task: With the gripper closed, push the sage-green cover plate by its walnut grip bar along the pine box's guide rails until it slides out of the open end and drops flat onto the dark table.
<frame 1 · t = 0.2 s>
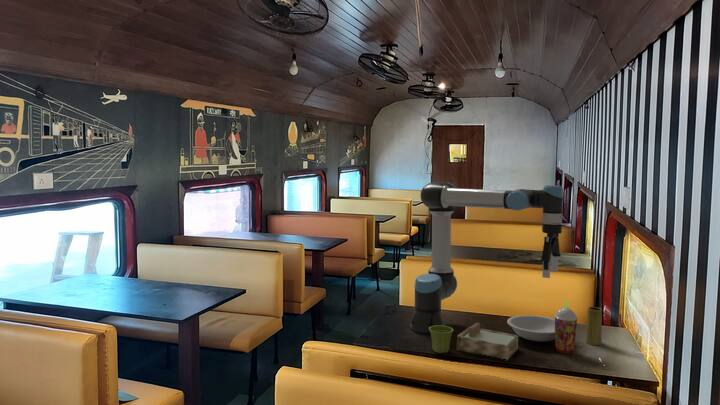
hand: (550, 274, 214), 28 cm above the table, fingers open, 13 cm apart
cover plate: (489, 339, 204), point 4 cm above the table, touching box
soup bowl: (536, 339, 218), on the table
vase: (593, 343, 214), on the table
smoothie: (564, 351, 204), on the table
plant pot: (440, 351, 204), on the table
box: (487, 349, 205), on the table
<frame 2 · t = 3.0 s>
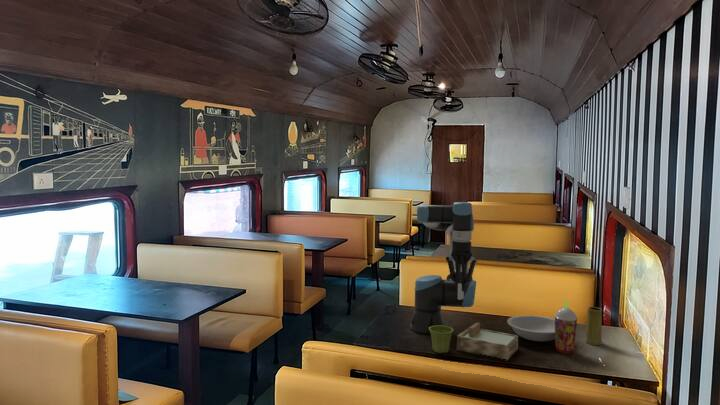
hand: (460, 298, 210), 19 cm above the table, fingers closed
nothing on the table moved.
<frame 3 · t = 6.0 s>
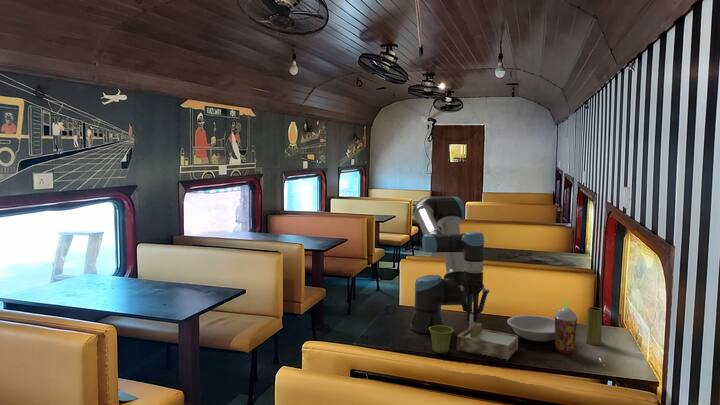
hand: (472, 329, 208), 7 cm above the table, fingers closed
nothing on the table moved.
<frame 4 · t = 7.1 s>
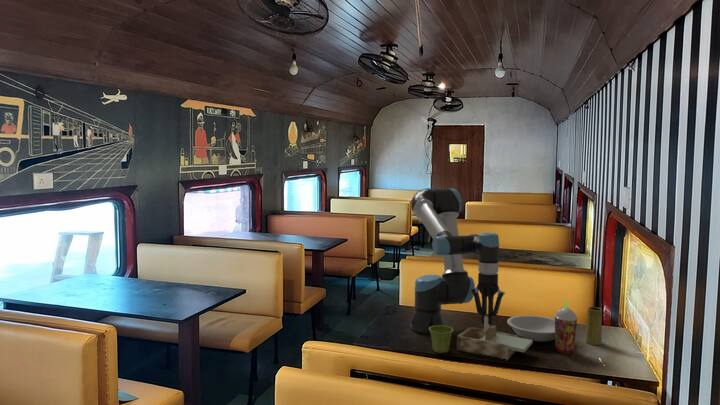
hand: (486, 332, 204), 7 cm above the table, fingers closed
cover plate: (505, 343, 201), point 4 cm above the table, touching gripper
everything else where it was.
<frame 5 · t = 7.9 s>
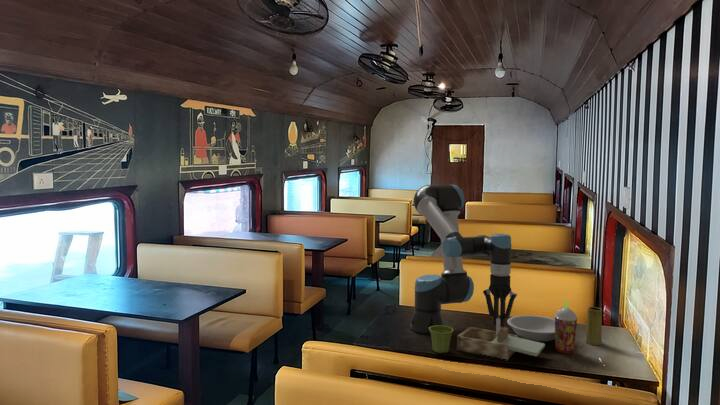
hand: (498, 334, 202), 7 cm above the table, fingers closed
cover plate: (517, 345, 198), point 4 cm above the table, touching box, gripper
everything else where it was.
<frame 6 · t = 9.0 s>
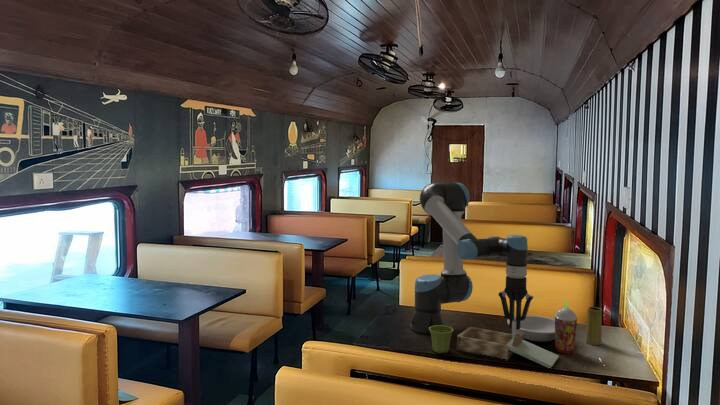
hand: (514, 337, 199), 7 cm above the table, fingers closed
cover plate: (531, 353, 195), point 2 cm above the table, tilted 15°
everything else where it was.
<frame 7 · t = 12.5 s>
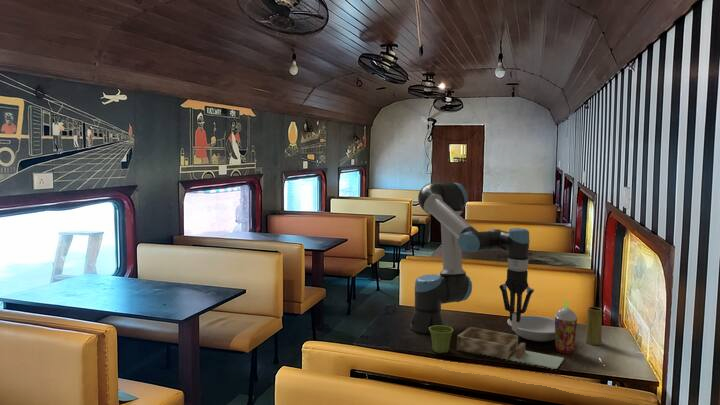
hand: (514, 329, 200), 10 cm above the table, fingers closed
cover plate: (536, 361, 195), on the table
everything else where it was.
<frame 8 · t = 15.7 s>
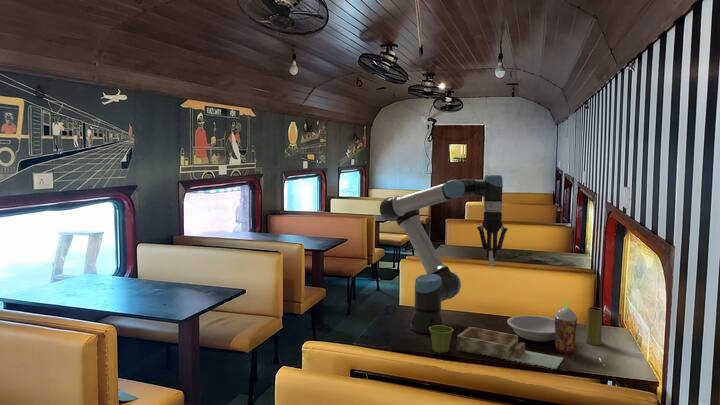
hand: (491, 265, 224), 29 cm above the table, fingers closed
nothing on the table moved.
at the end: cover plate inside the target area (6.7 cm from its centre), on the table; cover plate tilted 0°; cover plate touching table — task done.
